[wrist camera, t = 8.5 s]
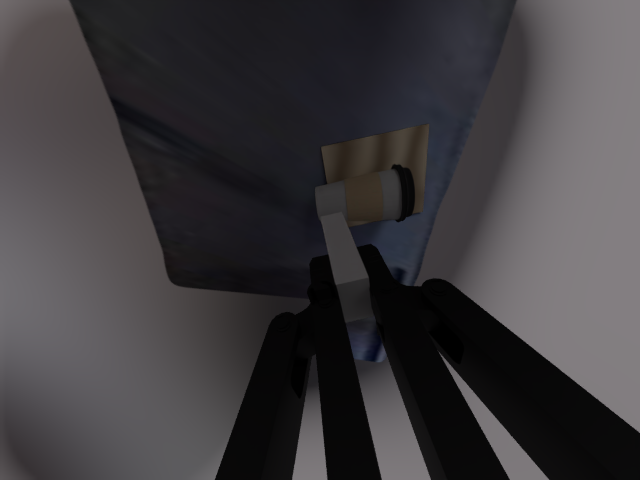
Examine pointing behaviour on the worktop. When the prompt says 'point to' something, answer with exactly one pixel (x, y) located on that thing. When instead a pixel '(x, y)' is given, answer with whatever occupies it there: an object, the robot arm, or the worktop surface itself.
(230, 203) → the worktop surface
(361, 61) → the worktop surface
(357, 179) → the coffee cup
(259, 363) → the robot arm
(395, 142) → the brown striped mat
